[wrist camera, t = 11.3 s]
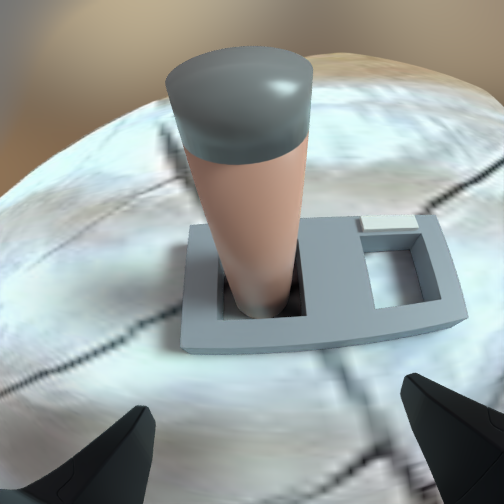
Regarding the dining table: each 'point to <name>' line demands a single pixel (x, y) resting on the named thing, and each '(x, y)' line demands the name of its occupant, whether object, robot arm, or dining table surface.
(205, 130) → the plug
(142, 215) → the dining table surface
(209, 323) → the socket plate
